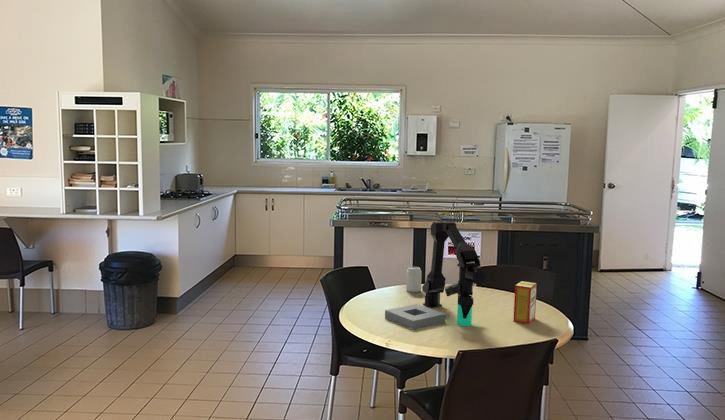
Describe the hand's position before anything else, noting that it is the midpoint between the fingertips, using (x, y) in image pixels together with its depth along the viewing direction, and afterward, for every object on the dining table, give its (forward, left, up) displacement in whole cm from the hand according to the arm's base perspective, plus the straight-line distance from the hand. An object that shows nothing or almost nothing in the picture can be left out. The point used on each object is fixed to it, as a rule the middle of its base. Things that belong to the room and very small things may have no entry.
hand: (464, 315), depth 243 cm
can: (-18, -53, -4) cm, 56 cm away
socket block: (+14, -15, -3) cm, 21 cm away
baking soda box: (-26, +10, -4) cm, 28 cm away
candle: (0, 0, -4) cm, 4 cm away
